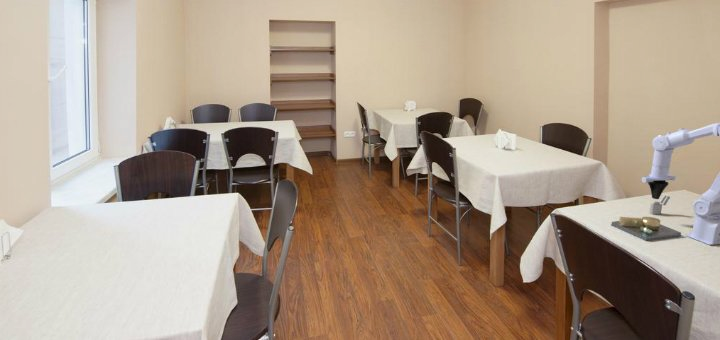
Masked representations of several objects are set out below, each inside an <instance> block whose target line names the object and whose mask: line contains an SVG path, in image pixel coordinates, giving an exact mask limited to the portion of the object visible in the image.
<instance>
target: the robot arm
mask: <svg viewBox="0 0 720 340" xmlns="http://www.w3.org/2000/svg"><path fill="white" fill-rule="evenodd" d="M710 136H715V137H720V122H716V123H712V124H709V125H706V126H702V127H700V128H697V129H693V130H691V129H689V128H687V129H686V128H679V129H678V131H675V132H666V135H657V136H655V137H654V138H653V139H652V143H651V144H652V148H653V149H654V153H653V158H652V164H651V172H650V173H649V174H648V175H647V176H642V177H641V182H642V183H644V184H648V186H649V188H650V194H651V198H652V199H654V200H660V198H661V196H662V194H663V191H665V189H666V188H667V187H668V186H669V182H668V181H675V180H676V175H674V174H669V171H670V168H671V167H670V166H671V161H672V154H673V152H674V149H676V148H679V147H680V148H681V147H683V146H688V145H691V144H693V143H694V142H695V140H696V139H701V138H704V137H706V138H707V137H710ZM692 210H693V212H694V220H693V227H692V232H691V233H686V234H685V236H686V237H688V238H691V239H693V240H696V241H698V242H701V243H703V244H707V245H709V246H713V245H714V246H715V245H720V171H719V172H718V174H717V176H716V178H715V179H714V181H713V183H711V185H710V188H709V189H708V190H706V191H705V192H704V193H702V194H701V195H700V197H699V198H698V199H696V200H694V202H693V203H692Z"/></svg>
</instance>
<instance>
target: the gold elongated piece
mask: <svg viewBox="0 0 720 340" xmlns="http://www.w3.org/2000/svg"><path fill="white" fill-rule="evenodd" d="M618 221H619V225H620V226H634V227H645V228H647V229H650V230H658V229H659V227H660V224H661V220H660V219H659V218H656V217H651V216H642V217H630V216H629V217H628V216H627V217H626V216H619V220H618Z"/></svg>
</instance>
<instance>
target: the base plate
mask: <svg viewBox="0 0 720 340" xmlns="http://www.w3.org/2000/svg"><path fill="white" fill-rule="evenodd" d="M610 225H611V226H612V227H614V228H617V229H619V230H621V231H623V232H625V233H628V234H629V235H631V236H634V237H637V238H638V239H640V240H643V241H644V242H645V241H646V242H648V241H654V240H656V241H657V240H662V239H669V238H670V239H671V238H678V237H681V235H682V232H681V231H679V230H676V229H673V228H670V227H668V226H665V225H664V224H661V223H660V227H659V229H658V230H650V229H647V228H645V227H634V226H620V225H619V220H618V221H617V220H616V221H615V220H614V221H611V224H610Z"/></svg>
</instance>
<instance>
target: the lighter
mask: <svg viewBox="0 0 720 340" xmlns="http://www.w3.org/2000/svg"><path fill="white" fill-rule="evenodd" d="M670 199H671V196H669V195H667V194H664V196H663V197H662V199H661V200H660V201H653V203H650V208H649V214H650V215H661V214H662V209H663V206H666V205H667V203H669V200H670Z"/></svg>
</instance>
